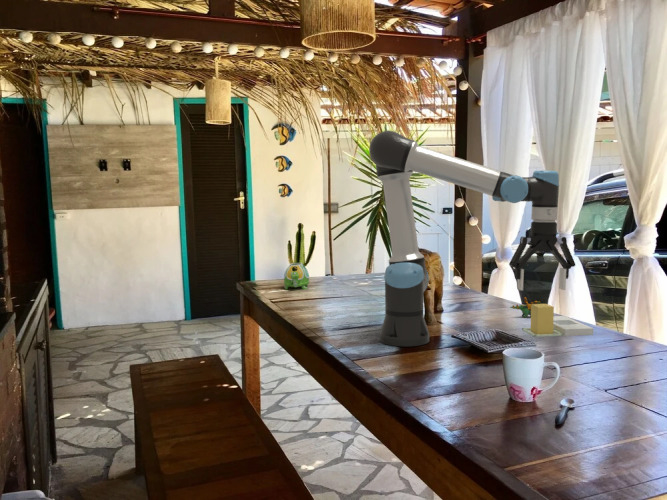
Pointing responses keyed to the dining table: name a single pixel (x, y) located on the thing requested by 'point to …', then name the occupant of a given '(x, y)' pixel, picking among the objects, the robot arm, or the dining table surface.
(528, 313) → the figurine
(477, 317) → the dining table surface
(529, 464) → the dining table surface
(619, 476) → the dining table surface
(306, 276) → the turtle holder
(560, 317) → the recessed block
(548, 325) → the block
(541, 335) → the tray
